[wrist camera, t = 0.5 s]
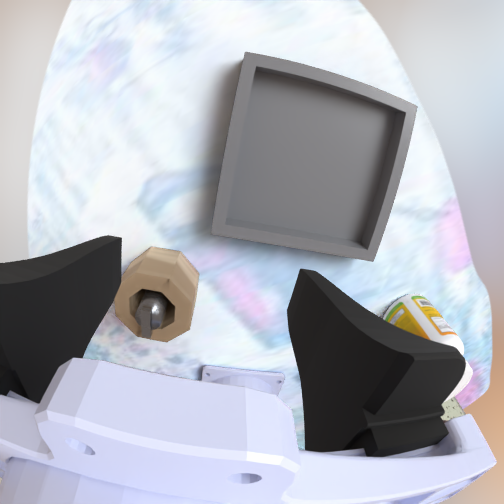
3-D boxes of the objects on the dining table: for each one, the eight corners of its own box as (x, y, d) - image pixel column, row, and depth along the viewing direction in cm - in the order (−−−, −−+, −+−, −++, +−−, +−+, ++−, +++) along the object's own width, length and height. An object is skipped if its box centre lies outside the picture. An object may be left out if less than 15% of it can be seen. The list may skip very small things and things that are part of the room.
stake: (174, 293, 23) (159, 340, 18) (152, 290, 23) (133, 335, 17) (176, 269, 22) (159, 313, 17) (153, 266, 22) (131, 308, 17)
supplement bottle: (382, 344, 26) (421, 418, 18) (377, 305, 24) (425, 385, 15) (427, 323, 26) (473, 388, 17) (426, 283, 24) (485, 349, 15)
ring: (194, 313, 24) (188, 346, 20) (132, 302, 23) (117, 332, 19) (201, 254, 21) (194, 282, 18) (131, 243, 21) (112, 268, 17)
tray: (363, 250, 22) (373, 261, 20) (213, 223, 20) (210, 234, 19) (403, 106, 17) (417, 106, 15) (244, 58, 16) (245, 51, 14)
